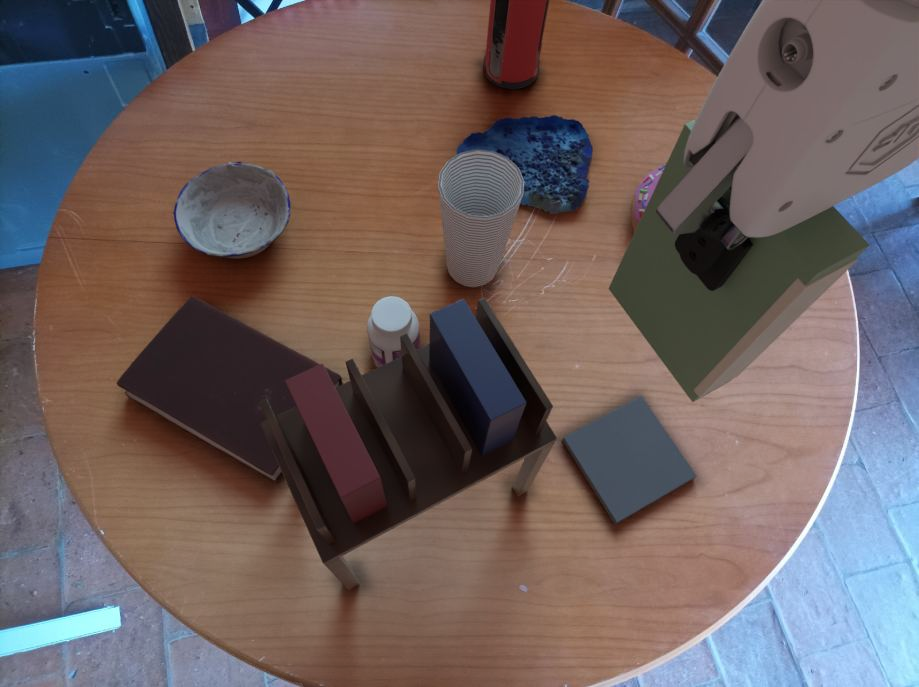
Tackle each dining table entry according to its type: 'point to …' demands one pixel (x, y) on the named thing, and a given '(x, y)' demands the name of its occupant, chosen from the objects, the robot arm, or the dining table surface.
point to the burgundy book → (338, 442)
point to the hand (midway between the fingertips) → (726, 250)
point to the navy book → (474, 377)
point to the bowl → (232, 210)
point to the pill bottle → (391, 329)
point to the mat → (628, 459)
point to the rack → (405, 445)
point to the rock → (542, 158)
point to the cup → (478, 213)
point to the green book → (725, 288)
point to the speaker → (514, 41)
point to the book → (217, 381)
